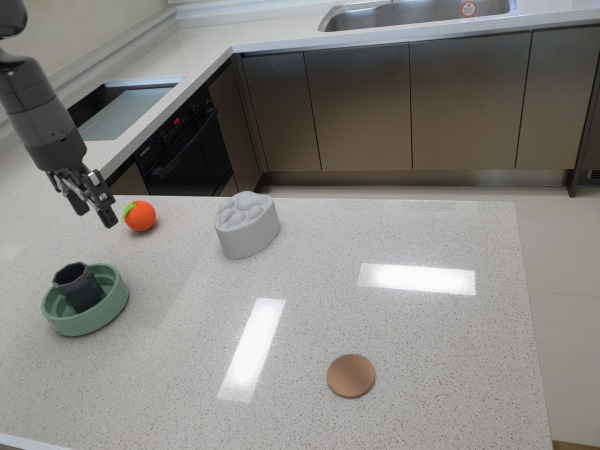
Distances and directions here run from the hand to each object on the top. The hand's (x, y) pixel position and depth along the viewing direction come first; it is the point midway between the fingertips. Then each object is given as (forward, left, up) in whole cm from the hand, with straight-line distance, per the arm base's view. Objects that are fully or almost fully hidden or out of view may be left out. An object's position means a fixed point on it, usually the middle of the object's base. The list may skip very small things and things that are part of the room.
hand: (98, 219), depth 77 cm
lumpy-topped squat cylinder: (+22, -9, -19) cm, 30 cm away
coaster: (+5, -44, -19) cm, 48 cm away
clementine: (+14, +17, -19) cm, 29 cm away
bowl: (-7, +6, -19) cm, 21 cm away
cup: (-7, +6, -18) cm, 20 cm away
